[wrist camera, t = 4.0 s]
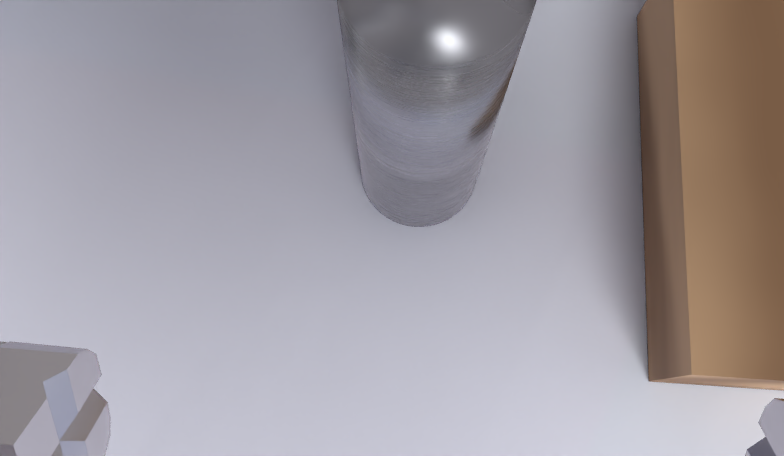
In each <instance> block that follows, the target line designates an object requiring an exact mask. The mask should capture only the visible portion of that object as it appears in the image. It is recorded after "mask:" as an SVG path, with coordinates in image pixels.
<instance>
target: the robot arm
mask: <svg viewBox="0 0 784 456" xmlns="http://www.w3.org/2000/svg"><path fill="white" fill-rule="evenodd" d="M101 375H102V374H101V370H100V367H99V363H98V359H97V355H96V353H94V352H92V351H90V350H88V349H82V348H72V347H61V346H51V345H40V344H30V343H19V342H0V456H105V454H106V450H107V446H108V442H109V438H110V412H109V407H108V402H107V401H106V400H105V399H104V398H103V397H102V396H101V395H100V394H99V393H98V392H96V391H95V390H94V389H93V388H94V386H95V385H96V383H97V382H98V380H99V378H100V377H101ZM758 423H759V425H760V427H761V429H762V431H763V433H764V434H765V436H766V437H765V438H763V439H762V440H760V441H759V442H757V443H756V444H754V445H753V446H752V447H750V448H749V449H747V451H746V454H745V456H784V399H778V398H774V399H773V400H772V401H771V402H770V403H769V404H768V405H767V406H766V407H765V408H764V411H763V413H762V415H761V418H760V420H759V422H758Z"/></svg>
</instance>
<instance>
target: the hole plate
mask: <svg viewBox="0 0 784 456" xmlns="http://www.w3.org/2000/svg"><path fill="white" fill-rule="evenodd" d="M637 32H638V63H639V94H640V125H641V156H642V187H643V218H644V249H645V280H646V311H647V342H648V373H649V381H651V382H666V383H681V384H696V385H710V386H725V387H740V388H755V389H770V390H784V0H647V1H646V2H645V4H644V6H643V7H642V9H641V11H640V12H639V14H638V16H637Z"/></svg>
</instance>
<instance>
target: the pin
mask: <svg viewBox="0 0 784 456" xmlns="http://www.w3.org/2000/svg"><path fill="white" fill-rule="evenodd" d="M337 4H338V11H339V18H340V25H341V33H342V40H343V47H344V54H345V61H346V68H347V75H348V83H349V90H350V97H351V104H352V111H353V118H354V126H355V133H356V140H357V147H358V154H359V161H360V168H361V176H362V183H363V186H364V190H365V192H366V194H367V196H368V198H369V200H370V202H371V203H372V204H373V205H374V207H375V208H376V209H377V210H378V211H379V212H380V213H382V214H383V215H384V216H386V217H387V218H389V219H391V220H392V221H395V222H397V223H400V224H403V225H407V226H414V227H424V226H431V225H435V224H439V223H441V222H444V221H446V220H448V219H449V218H451V217H453V216H454V215H455V214H457V213H458V212H459V211H460V210H461V209H462V208H463V207H464V205H465V204H466V203H467V201H468V200H469V198H470V196H471V194H472V191H473V189H474V186H475V183H476V180H477V177H478V174H479V171H480V168H481V165H482V162H483V159H484V156H485V153H486V150H487V147H488V144H489V141H490V138H491V135H492V132H493V129H494V126H495V123H496V120H497V117H498V114H499V111H500V108H501V105H502V102H503V99H504V96H505V93H506V90H507V87H508V84H509V81H510V78H511V75H512V72H513V69H514V66H515V63H516V60H517V57H518V54H519V51H520V48H521V45H522V42H523V39H524V36H525V33H526V30H527V27H528V24H529V22H530V19H531V16H532V13H533V10H534V7H535V4H536V0H337Z"/></svg>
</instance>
